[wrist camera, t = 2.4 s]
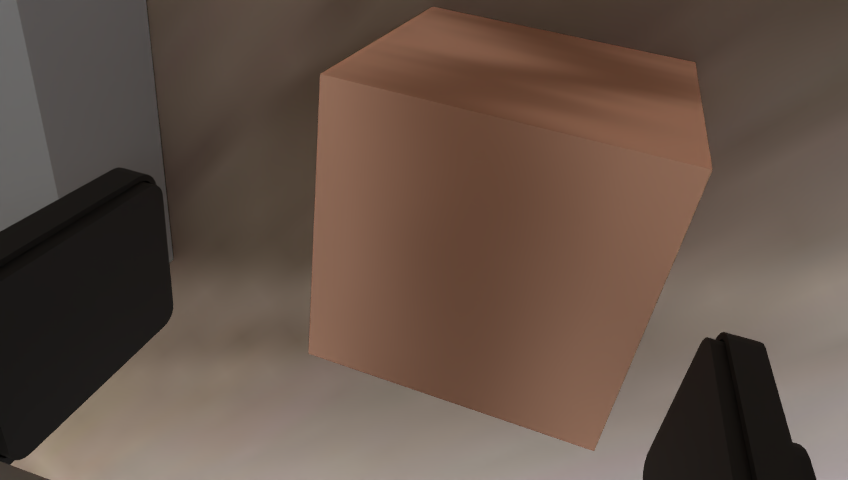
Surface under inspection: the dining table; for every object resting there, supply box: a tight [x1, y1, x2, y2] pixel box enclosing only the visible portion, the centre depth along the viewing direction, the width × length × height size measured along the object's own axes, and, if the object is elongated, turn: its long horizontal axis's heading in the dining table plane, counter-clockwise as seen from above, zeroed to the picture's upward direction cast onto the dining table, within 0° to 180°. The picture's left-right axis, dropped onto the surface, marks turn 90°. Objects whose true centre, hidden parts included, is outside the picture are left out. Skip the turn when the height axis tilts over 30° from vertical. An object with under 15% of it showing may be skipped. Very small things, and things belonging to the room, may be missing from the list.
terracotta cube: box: [309, 7, 713, 451], centre depth 13 cm, size 6×6×6 cm
